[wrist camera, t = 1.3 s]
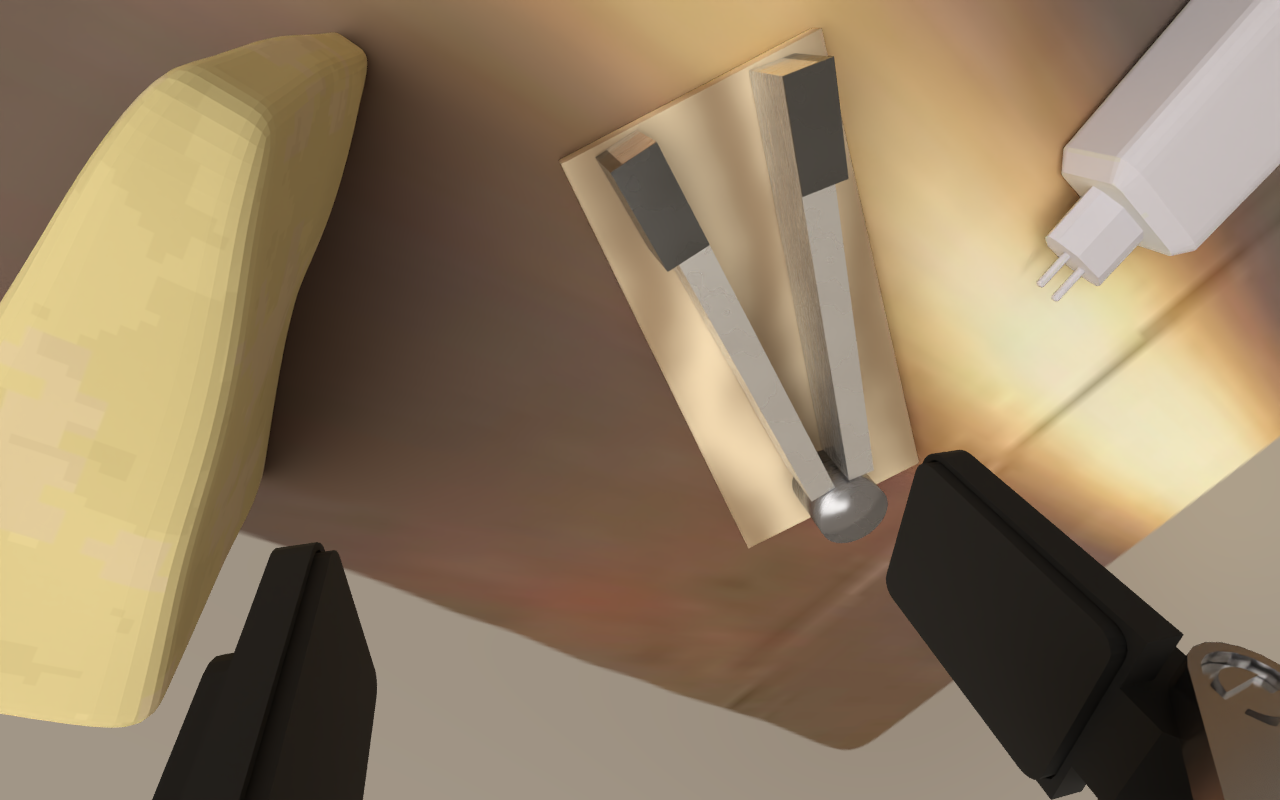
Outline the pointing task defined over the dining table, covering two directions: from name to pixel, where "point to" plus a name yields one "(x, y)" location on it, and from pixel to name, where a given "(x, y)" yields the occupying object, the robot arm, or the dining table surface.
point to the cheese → (156, 368)
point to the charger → (1174, 141)
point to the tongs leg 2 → (815, 242)
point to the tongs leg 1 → (709, 295)
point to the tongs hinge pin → (845, 505)
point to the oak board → (742, 292)
